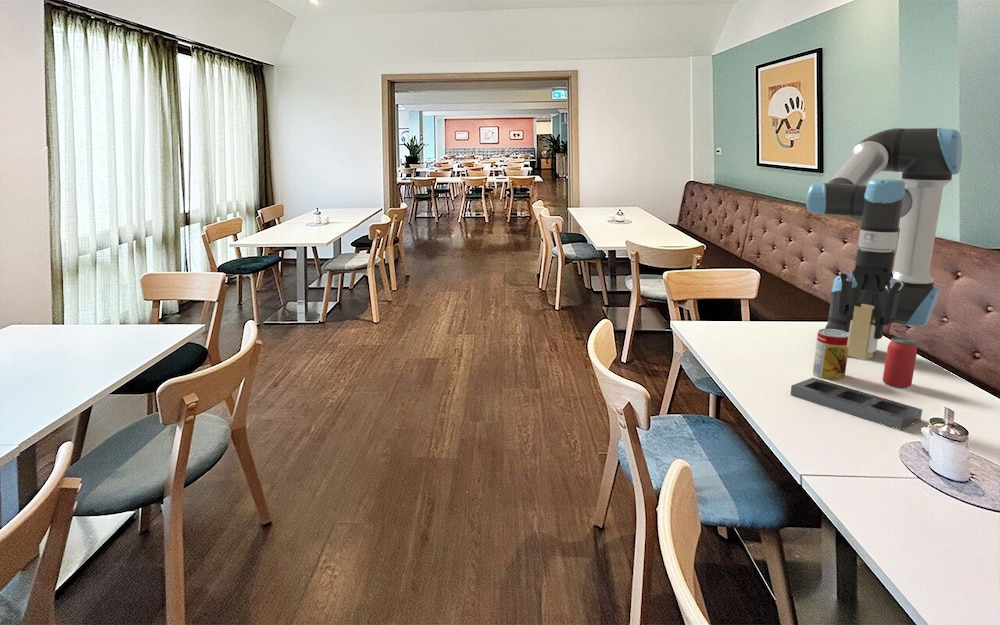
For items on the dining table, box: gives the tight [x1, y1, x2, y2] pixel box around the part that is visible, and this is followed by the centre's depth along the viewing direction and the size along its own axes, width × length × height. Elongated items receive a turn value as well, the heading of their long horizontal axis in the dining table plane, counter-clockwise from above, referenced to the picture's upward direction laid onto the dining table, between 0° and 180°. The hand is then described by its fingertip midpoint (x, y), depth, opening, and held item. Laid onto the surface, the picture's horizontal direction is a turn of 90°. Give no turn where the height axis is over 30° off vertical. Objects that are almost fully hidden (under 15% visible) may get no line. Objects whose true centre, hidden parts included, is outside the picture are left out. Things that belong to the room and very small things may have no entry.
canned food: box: [812, 328, 849, 381], centre depth 182 cm, size 8×8×12 cm
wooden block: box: [847, 304, 875, 361], centre depth 158 cm, size 4×4×12 cm
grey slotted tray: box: [790, 377, 923, 431], centre depth 162 cm, size 10×26×2 cm, turn 37°
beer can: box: [882, 336, 918, 389], centre depth 176 cm, size 7×7×12 cm
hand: (861, 348), depth 159 cm, fingers closed on wooden block, 4 cm apart
